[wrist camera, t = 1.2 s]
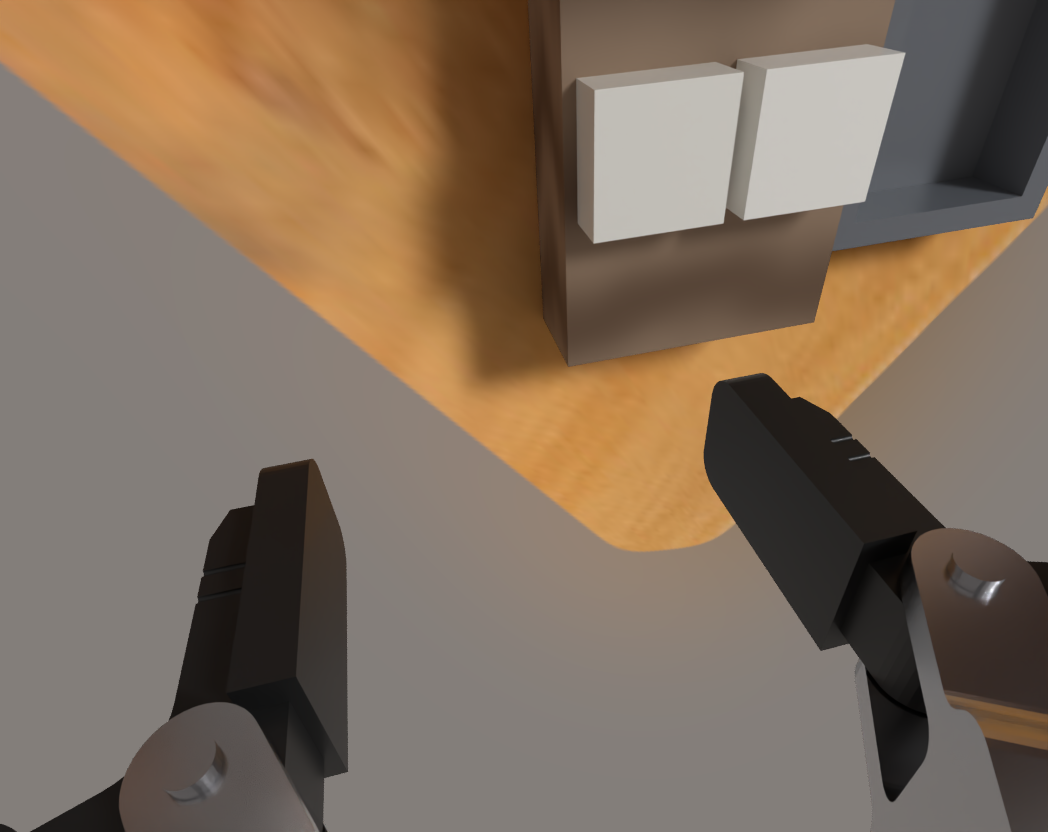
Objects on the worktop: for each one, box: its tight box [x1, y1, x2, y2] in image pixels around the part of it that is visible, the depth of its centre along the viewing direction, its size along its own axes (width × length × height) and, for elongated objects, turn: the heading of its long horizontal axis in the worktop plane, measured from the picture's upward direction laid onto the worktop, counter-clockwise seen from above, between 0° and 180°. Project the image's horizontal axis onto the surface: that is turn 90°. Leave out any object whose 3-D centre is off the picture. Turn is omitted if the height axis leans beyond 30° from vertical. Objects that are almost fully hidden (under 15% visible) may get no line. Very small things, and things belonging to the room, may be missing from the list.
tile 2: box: [726, 44, 905, 220], centre depth 23 cm, size 5×5×2 cm
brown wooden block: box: [528, 0, 895, 367], centre depth 25 cm, size 18×12×4 cm, turn 4°
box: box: [832, 0, 1048, 251], centre depth 27 cm, size 14×11×4 cm
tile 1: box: [576, 62, 744, 243], centre depth 22 cm, size 5×5×2 cm
